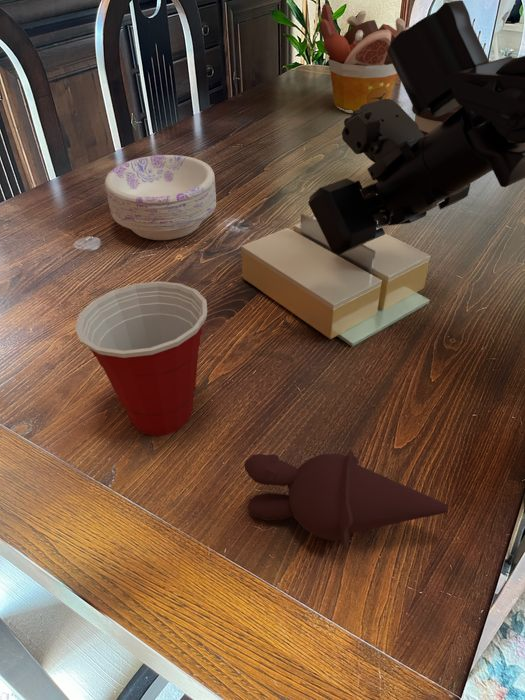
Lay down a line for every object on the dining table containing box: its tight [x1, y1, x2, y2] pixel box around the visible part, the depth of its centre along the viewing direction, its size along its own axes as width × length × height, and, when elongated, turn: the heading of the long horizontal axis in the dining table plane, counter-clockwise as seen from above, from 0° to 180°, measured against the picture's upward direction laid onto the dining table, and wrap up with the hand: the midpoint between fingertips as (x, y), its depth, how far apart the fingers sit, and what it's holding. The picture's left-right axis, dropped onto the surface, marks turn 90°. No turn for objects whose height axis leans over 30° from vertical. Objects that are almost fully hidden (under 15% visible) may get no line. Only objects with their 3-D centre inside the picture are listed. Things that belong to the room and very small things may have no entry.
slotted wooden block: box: [240, 216, 432, 348], centre depth 67 cm, size 20×16×5 cm
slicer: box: [300, 212, 375, 275], centre depth 64 cm, size 12×2×10 cm, turn 38°
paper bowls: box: [104, 154, 217, 241], centre depth 79 cm, size 15×15×8 cm
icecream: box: [244, 449, 449, 549], centre depth 41 cm, size 7×7×15 cm
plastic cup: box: [74, 280, 208, 437], centre depth 49 cm, size 11×11×12 cm
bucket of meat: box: [318, 3, 411, 111], centre depth 119 cm, size 20×16×20 cm
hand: (346, 228), depth 63 cm, fingers closed on slicer, 2 cm apart
